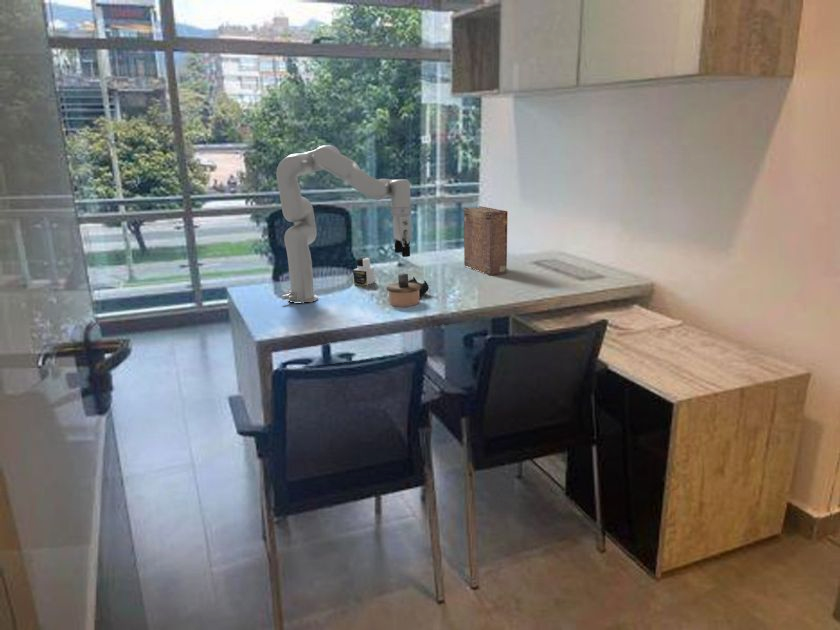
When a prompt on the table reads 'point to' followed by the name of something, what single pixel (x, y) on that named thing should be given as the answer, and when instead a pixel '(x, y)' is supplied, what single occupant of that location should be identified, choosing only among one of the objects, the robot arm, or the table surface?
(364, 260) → the medicine bottle
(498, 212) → the brown lidded box
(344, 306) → the table surface
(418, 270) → the table surface
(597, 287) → the table surface
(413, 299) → the terracotta bowl
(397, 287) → the walnut lid
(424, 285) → the gaming controller
